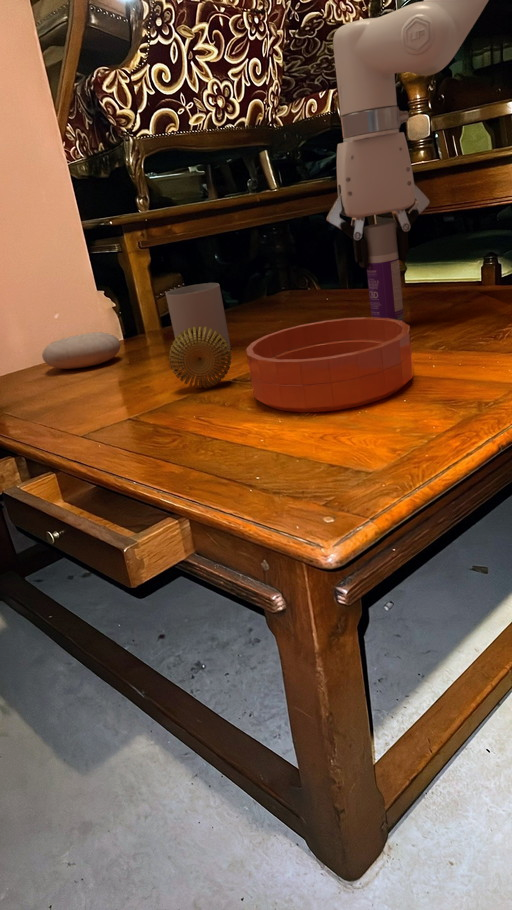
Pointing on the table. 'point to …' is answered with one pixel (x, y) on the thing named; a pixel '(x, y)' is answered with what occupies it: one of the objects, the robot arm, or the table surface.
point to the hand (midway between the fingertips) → (382, 262)
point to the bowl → (331, 364)
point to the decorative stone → (81, 350)
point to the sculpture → (200, 357)
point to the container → (384, 271)
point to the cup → (198, 309)
